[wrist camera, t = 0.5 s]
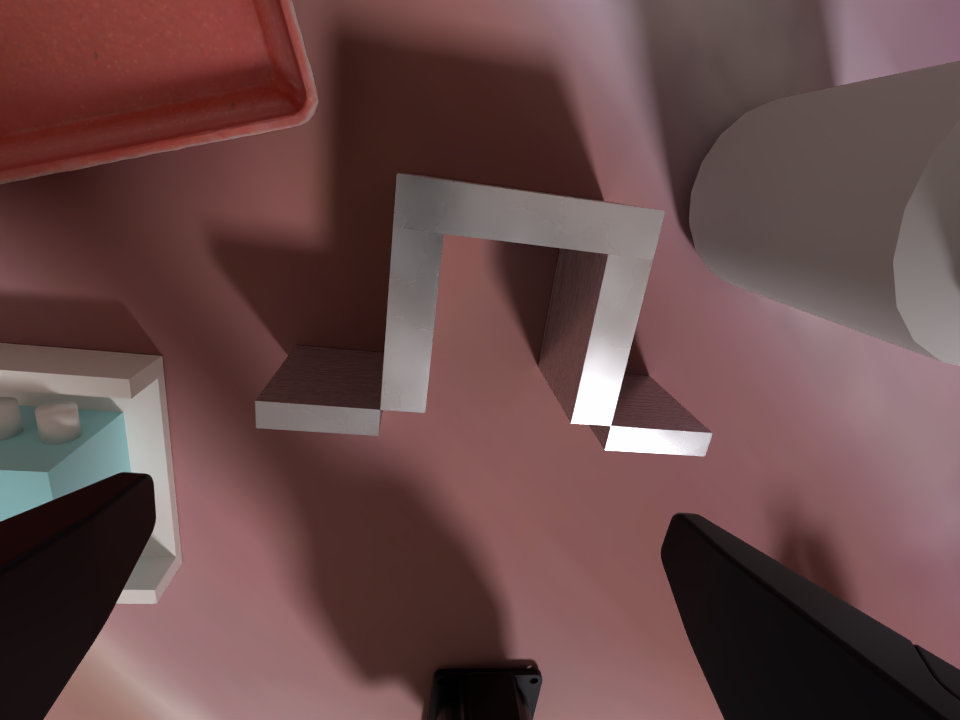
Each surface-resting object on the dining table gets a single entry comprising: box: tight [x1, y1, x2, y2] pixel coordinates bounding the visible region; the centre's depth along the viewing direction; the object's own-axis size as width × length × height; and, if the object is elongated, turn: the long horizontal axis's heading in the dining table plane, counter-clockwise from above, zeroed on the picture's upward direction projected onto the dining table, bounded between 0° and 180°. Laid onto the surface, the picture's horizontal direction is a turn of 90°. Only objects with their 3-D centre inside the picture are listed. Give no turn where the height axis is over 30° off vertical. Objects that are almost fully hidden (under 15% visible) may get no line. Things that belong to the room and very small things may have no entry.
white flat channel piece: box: [0, 343, 182, 604], centre depth 21 cm, size 11×7×2 cm, turn 172°
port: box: [255, 173, 712, 456], centre depth 19 cm, size 8×16×6 cm, turn 82°
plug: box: [0, 397, 131, 521], centre depth 19 cm, size 7×4×4 cm, turn 172°
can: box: [689, 61, 960, 366], centre depth 15 cm, size 8×8×12 cm
